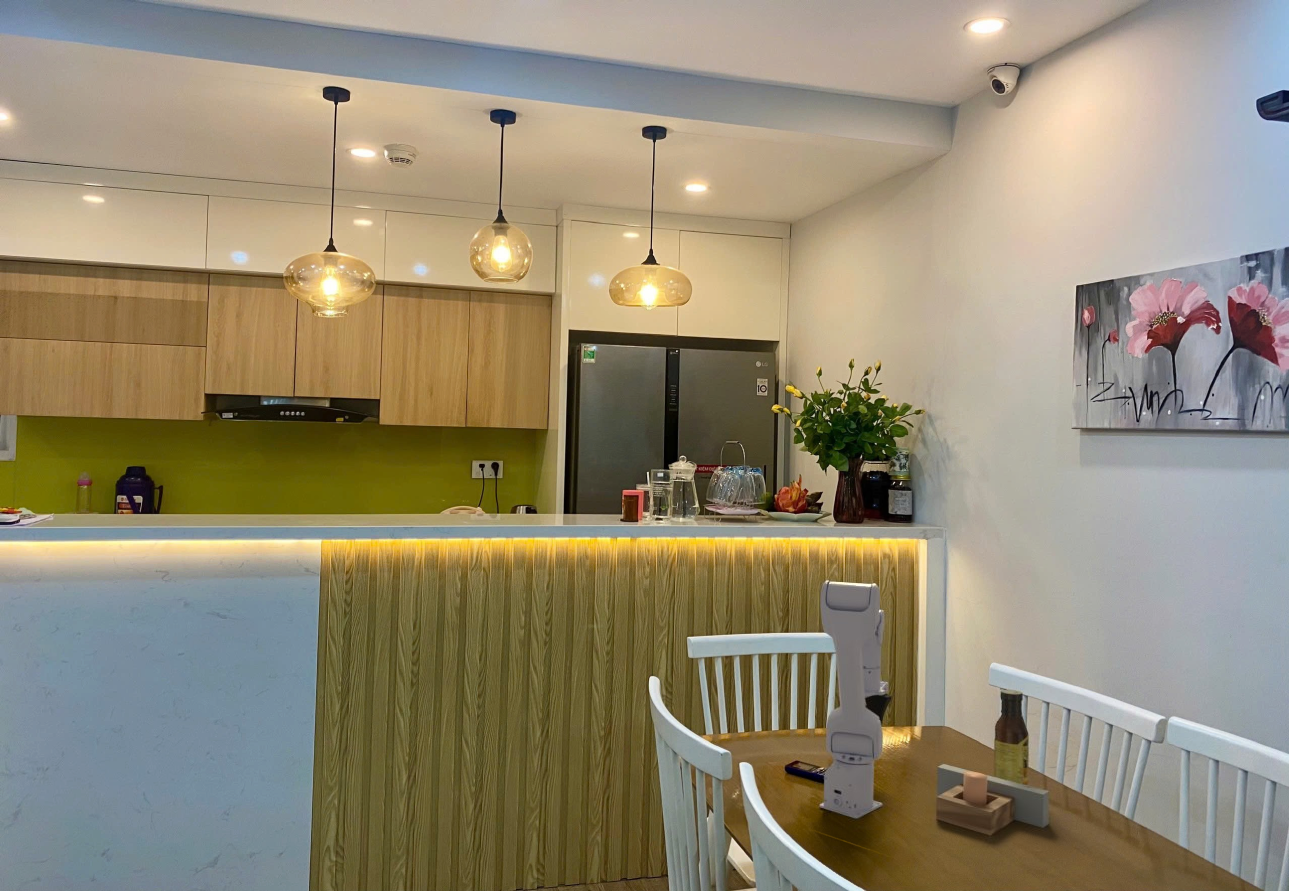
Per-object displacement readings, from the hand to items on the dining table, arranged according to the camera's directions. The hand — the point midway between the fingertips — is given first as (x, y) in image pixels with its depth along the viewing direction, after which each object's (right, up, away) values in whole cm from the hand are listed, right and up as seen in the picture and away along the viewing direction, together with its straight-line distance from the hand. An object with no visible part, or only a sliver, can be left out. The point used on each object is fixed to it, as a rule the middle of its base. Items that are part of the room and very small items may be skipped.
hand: (864, 733), depth 191 cm
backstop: (+20, -10, -15) cm, 27 cm away
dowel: (+15, -9, -20) cm, 26 cm away
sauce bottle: (+27, -10, -6) cm, 29 cm away
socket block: (+15, -9, -20) cm, 27 cm away
